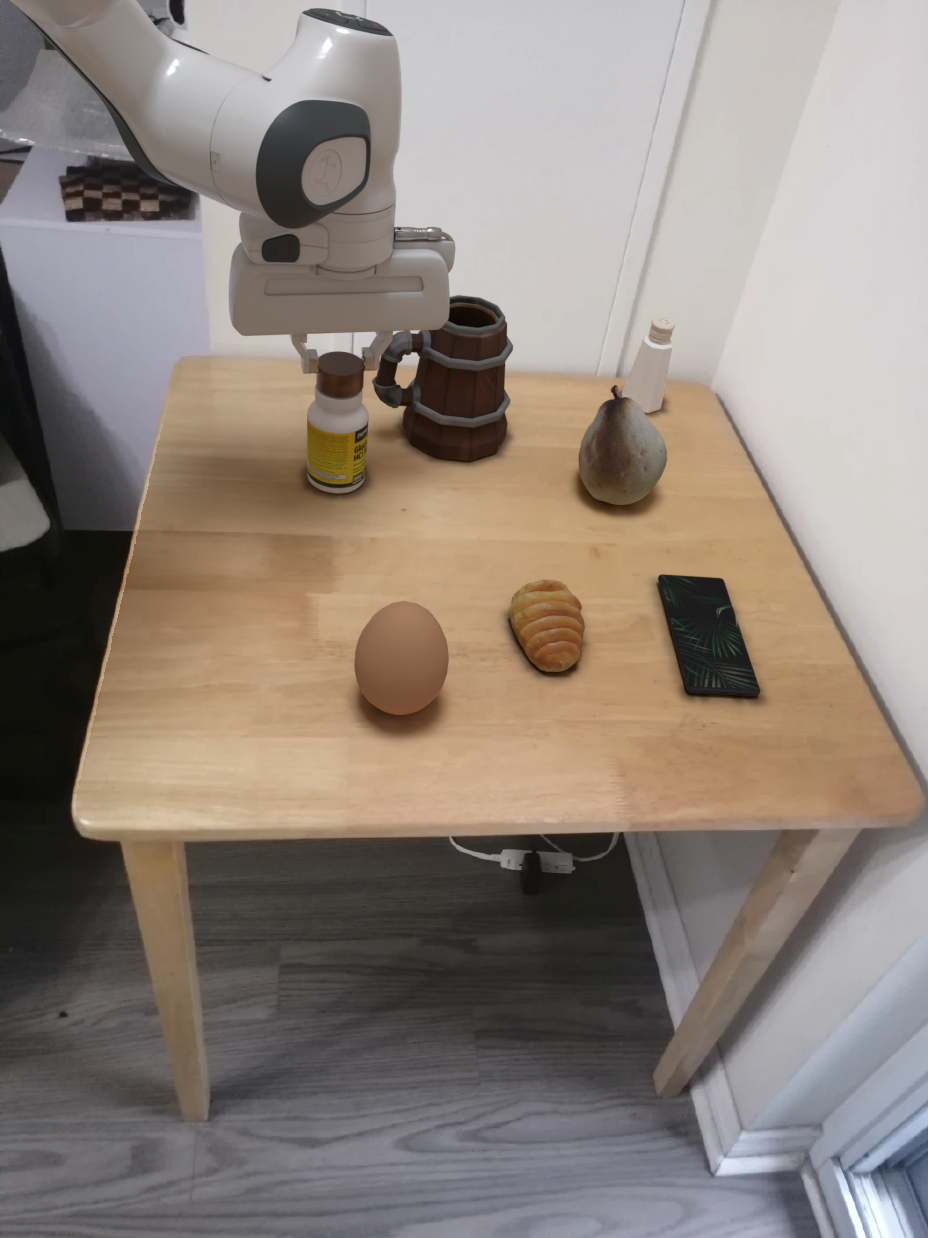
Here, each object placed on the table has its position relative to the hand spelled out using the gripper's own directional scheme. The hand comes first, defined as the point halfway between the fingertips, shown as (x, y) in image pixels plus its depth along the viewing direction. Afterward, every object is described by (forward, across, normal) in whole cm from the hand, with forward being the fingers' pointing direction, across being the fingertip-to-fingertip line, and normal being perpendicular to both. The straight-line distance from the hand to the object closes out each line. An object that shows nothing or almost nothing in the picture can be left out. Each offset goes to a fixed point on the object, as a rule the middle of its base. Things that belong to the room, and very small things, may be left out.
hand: (339, 369), depth 91 cm
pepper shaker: (+13, -41, -11) cm, 44 cm away
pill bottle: (+13, 0, 0) cm, 13 cm away
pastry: (+13, -15, +26) cm, 33 cm away
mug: (+13, -13, -7) cm, 20 cm away
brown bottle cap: (+2, 0, 0) cm, 2 cm away
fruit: (+13, -30, +6) cm, 33 cm away
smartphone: (+13, -30, +29) cm, 44 cm away
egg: (+13, +1, +31) cm, 34 cm away
